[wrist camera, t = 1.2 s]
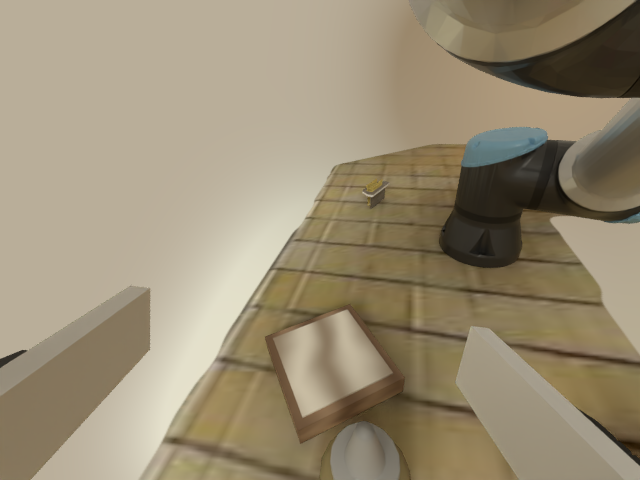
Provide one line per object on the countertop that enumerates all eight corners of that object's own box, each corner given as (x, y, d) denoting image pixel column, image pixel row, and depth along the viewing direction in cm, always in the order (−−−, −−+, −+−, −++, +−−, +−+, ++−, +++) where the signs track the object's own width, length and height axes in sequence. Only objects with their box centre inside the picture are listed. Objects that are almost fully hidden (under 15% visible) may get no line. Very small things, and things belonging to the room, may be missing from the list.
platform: (339, 212, 81) (338, 190, 78) (371, 188, 93) (372, 168, 89) (378, 222, 75) (379, 199, 71) (408, 196, 86) (410, 174, 83)
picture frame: (350, 317, 49) (349, 302, 47) (402, 391, 38) (404, 376, 36) (268, 349, 45) (264, 335, 43) (300, 443, 34) (297, 429, 32)
